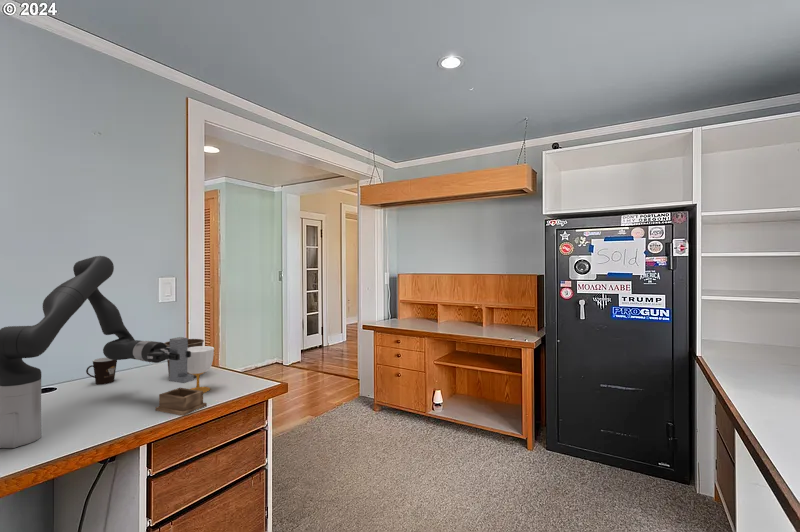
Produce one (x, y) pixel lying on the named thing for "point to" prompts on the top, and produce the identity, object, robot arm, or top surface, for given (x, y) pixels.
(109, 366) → the coffee mug
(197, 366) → the cup
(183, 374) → the bracket
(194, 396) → the box
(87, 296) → the robot arm
